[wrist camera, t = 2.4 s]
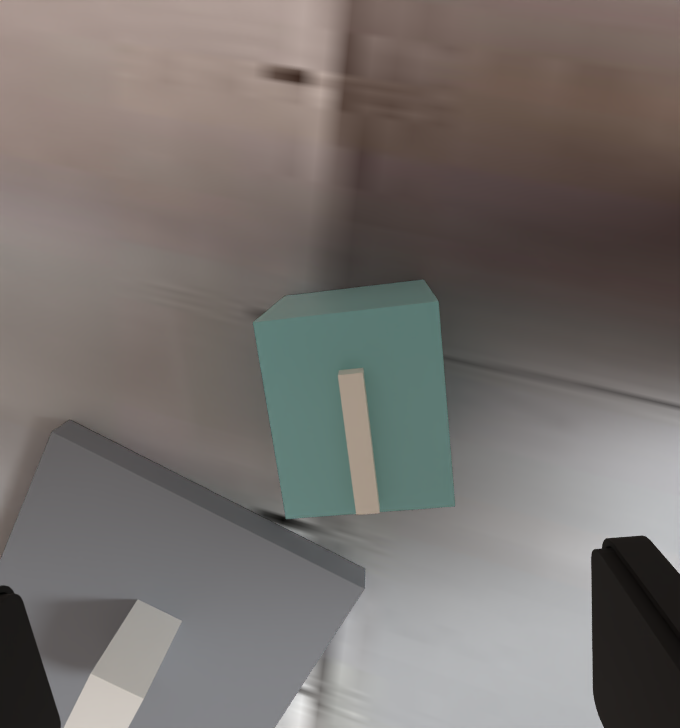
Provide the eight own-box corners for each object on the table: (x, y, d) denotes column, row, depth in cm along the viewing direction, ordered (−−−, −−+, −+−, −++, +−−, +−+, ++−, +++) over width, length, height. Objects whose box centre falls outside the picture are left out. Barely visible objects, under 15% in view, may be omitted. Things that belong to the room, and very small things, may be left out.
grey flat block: (70, 419, 26) (-19, 477, 20) (365, 569, 27) (361, 664, 21) (-28, 656, 30) (-124, 760, 25) (231, 778, 31) (197, 906, 25)
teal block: (285, 295, 24) (248, 325, 17) (423, 279, 23) (440, 304, 17) (307, 448, 26) (283, 528, 19) (437, 436, 25) (457, 515, 18)
